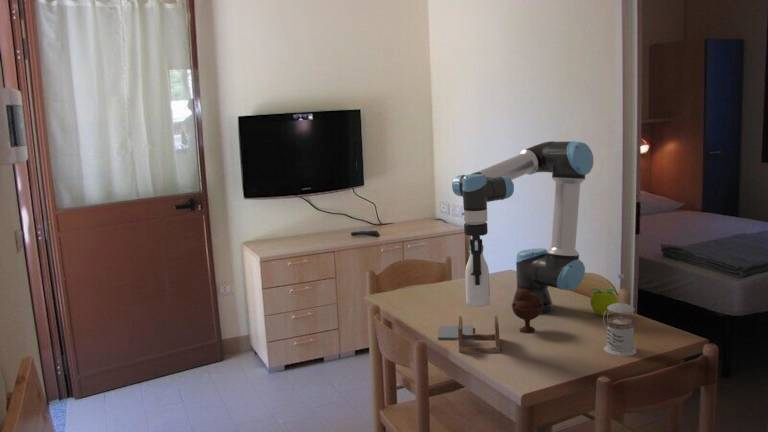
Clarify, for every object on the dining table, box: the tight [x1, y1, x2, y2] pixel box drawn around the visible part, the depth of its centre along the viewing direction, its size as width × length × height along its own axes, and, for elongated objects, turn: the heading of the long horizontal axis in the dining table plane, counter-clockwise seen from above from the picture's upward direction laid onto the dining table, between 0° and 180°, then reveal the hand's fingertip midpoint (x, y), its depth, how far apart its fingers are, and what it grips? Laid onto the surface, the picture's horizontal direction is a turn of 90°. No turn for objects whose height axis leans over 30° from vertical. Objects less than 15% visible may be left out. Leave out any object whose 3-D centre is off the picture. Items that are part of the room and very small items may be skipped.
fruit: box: [590, 288, 618, 317], centre depth 235 cm, size 9×9×10 cm
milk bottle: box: [464, 244, 491, 308], centre depth 209 cm, size 8×8×20 cm
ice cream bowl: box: [510, 289, 543, 334], centre depth 222 cm, size 11×11×15 cm
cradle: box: [457, 315, 500, 354], centre depth 212 cm, size 13×13×8 cm
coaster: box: [437, 325, 474, 341], centre depth 224 cm, size 12×12×1 cm
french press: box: [602, 273, 637, 357], centre depth 201 cm, size 10×12×25 cm
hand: (477, 290), depth 209 cm, fingers closed on milk bottle, 8 cm apart
